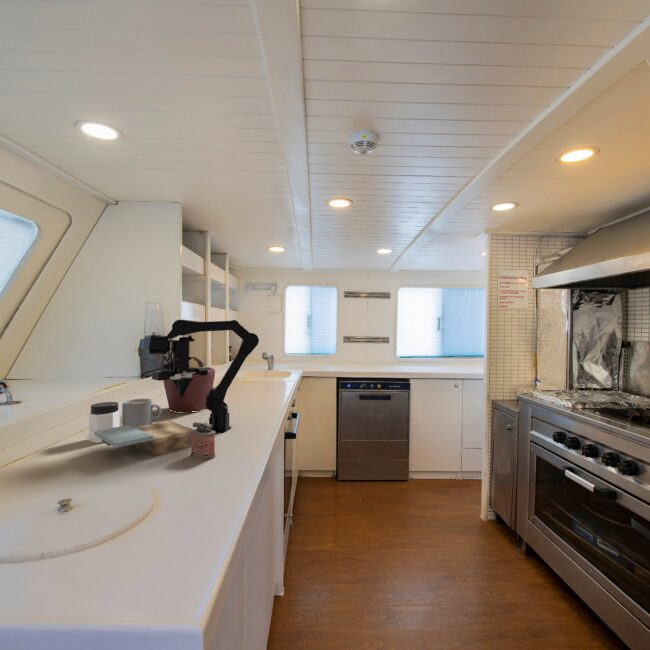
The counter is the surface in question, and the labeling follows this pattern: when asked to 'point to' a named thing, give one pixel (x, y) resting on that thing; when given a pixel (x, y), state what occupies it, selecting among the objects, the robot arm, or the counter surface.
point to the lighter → (202, 441)
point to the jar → (103, 418)
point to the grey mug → (138, 412)
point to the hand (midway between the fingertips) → (181, 397)
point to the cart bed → (165, 438)
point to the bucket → (190, 391)
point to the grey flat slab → (122, 436)
